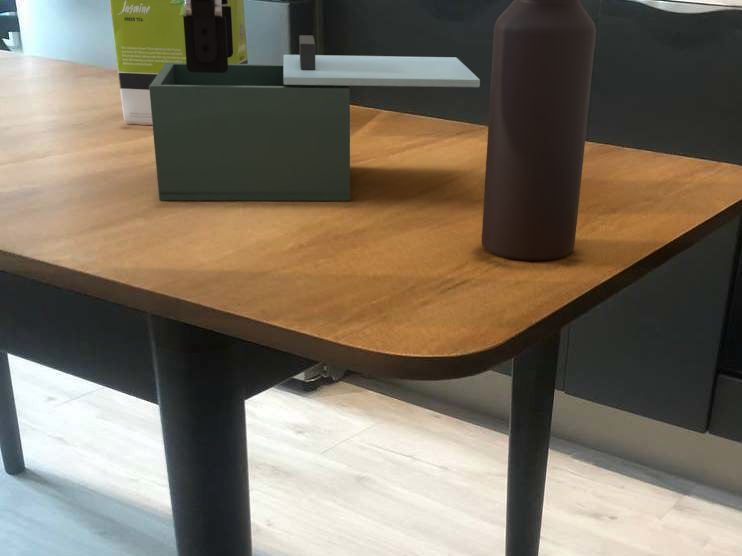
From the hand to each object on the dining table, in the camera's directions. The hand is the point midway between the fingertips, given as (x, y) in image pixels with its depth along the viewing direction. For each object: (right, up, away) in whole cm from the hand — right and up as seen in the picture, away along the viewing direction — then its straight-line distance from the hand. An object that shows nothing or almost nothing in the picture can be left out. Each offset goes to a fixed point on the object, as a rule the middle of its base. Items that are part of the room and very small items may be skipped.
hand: (211, 63), depth 90 cm
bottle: (+25, -18, -11) cm, 33 cm away
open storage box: (+3, -8, +5) cm, 10 cm away
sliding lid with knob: (+14, 0, +2) cm, 14 cm away
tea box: (-9, +8, +33) cm, 35 cm away
